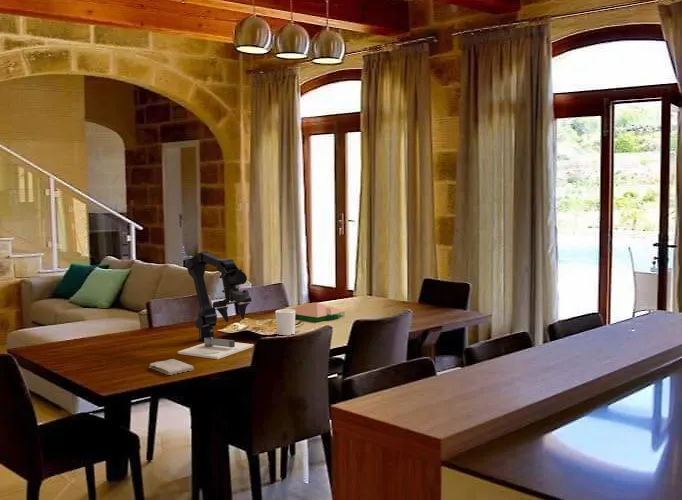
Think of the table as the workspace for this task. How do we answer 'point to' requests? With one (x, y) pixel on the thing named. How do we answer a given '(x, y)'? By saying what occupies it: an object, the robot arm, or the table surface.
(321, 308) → the house
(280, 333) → the candle holder
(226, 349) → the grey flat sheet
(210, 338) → the tuner lever
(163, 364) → the washcloth
